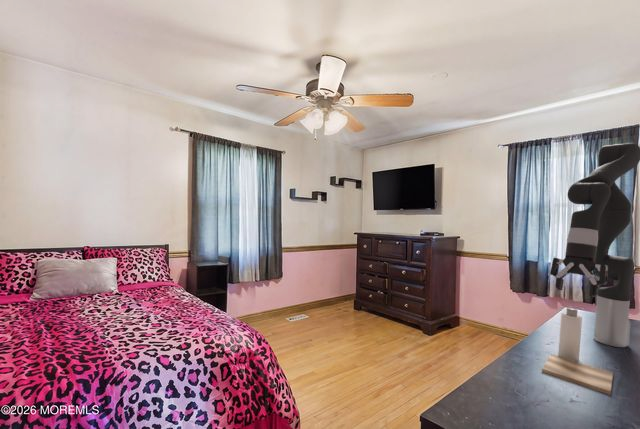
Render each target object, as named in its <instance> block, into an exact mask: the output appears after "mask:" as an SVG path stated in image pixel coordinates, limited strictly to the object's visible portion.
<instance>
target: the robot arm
mask: <svg viewBox="0 0 640 429" xmlns="http://www.w3.org/2000/svg"><path fill="white" fill-rule="evenodd" d="M597 156H598V158H597V163H598V164H597V167H596V168H595V169H593V170H592V172H590V174H588V176H586V177H584V178H581V179H579V180H577V181H576V182H574V183H572V185H571V186H570V187H569V188H568V191H567V199H568V201H570V202H571V203H572V204H575V205H589V207H588V208H587V209H582V210H576V211H573V213H572V214H571V219H570V227H569V231H568V234H567V239H566V241H567V242H566V249H565V257H564V258H558V257H553V258H552V263H551V266H550V272H549V274H550V275H551V276H553V277H555V278H556V281H555V288H556V289H557V291H563V289H564V278H565V277H567V276H568V275H570V274H574V275H578V276H584V277H586V278H587V279H588V280H589V281H590V290H589V297H590V298H595V297H596V304H595V315H594V316H595V318H594V329H593V339H594V340H595V341H596V342H599V343H601V344H604V345H606V346H612V347H616V348H626V347H629V345H630V336H631V335H630V333H631V325H632V324H631V323H632V322H631V320H630V319H629V316H630V303H631V302H630V301H631V293H632V284H633V279H634V278H633V277H634V274H635V273H634V272H635V262H634V260H633V258H631V257H626V256H619V255H612V254H609V251H610V247H611V246H612V243H613V242H614V241H615V240H616V238H618V237H619V235H621V234H622V232H623V231H625V230H626V229H627V227H628V226H629V224H630V223H631V218H632V217H631V216H632V204H631V202H630V199H629V198H628V197H627V196H626V194H625V193H623V191H622V190H621V189H620V188H619V186H618V185H617V182H616V181H617V180H618V179H619V178H620V177H622V176H623V175H625V174H627V173H628V172H629V171H631V170H633V169H634V168H636V166H638V165H639V163H640V145H639V144H637V143H635V142H626V143H616V144H609V145H608V144H607V145H602V146H601V147H600V149H599V151H598V155H597ZM562 264H563V265H564V268H563V269H561V270H560V272H559V268H560V266H561V265H562ZM597 278H599V280H598V279H597ZM608 280H611V281H612V280H613V281H618V282H617V284H616V285H612V286H606V285H607V284H608ZM604 285H605V286H604ZM600 286H603V287H600Z"/></svg>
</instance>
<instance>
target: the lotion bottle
mask: <svg viewBox="0 0 640 429" xmlns="http://www.w3.org/2000/svg"><path fill="white" fill-rule="evenodd" d="M582 324H583V316H581V315H579V314H578V309H575V308H571V307H567V308H566V312H561V315H560V327H559V341H558V353H557V354H558V355H557V356H560V357H563V358H566V359H570V360H573V361H576V362H579V360H580V349H581V338H582V336H581V335H582V326H583V325H582Z"/></svg>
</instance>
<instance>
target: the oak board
mask: <svg viewBox="0 0 640 429" xmlns="http://www.w3.org/2000/svg"><path fill="white" fill-rule="evenodd" d="M541 372H542V373H545V374H547V375H550V376H553V377H556V378H559V379H561V380H565V381H568V382H571V383H574V384H576V385H580V386H583V387H586V388H588V389H591V390H595V391H596V392H597V391H598V392H601V393H603V394H605V395H609V396H611V393H612V386H613V377H614V372H612V371H609V370H605V369H603V368H600V367H596V366H592V365H589V364H586V363H582V362H579V361H573V360H570V359H566V358H563V357H560V356H559V355H557V354H552V353H551V354H550V355H549V357H548V359H546V362H545V363H544V365H543V366H542V368H541Z"/></svg>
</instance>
